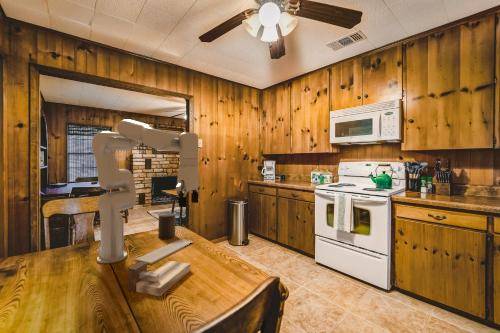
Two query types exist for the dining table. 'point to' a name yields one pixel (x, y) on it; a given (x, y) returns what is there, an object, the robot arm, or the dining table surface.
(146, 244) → the dining table surface
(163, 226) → the pillar candle
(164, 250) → the baseboard
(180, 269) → the birch plank
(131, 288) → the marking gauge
